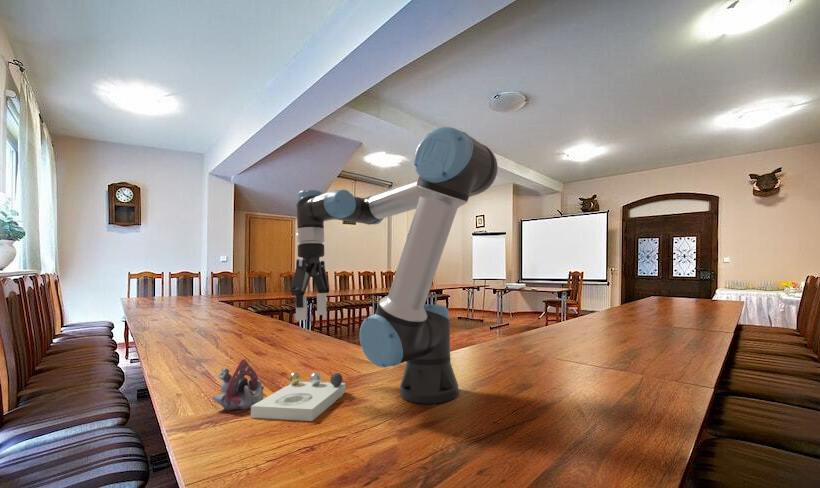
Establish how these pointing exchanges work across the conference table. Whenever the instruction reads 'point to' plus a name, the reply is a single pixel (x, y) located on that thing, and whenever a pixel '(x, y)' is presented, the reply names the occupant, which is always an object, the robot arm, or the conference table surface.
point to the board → (298, 401)
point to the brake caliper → (239, 388)
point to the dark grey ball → (336, 379)
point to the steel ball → (315, 378)
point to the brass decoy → (294, 378)
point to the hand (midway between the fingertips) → (312, 317)
